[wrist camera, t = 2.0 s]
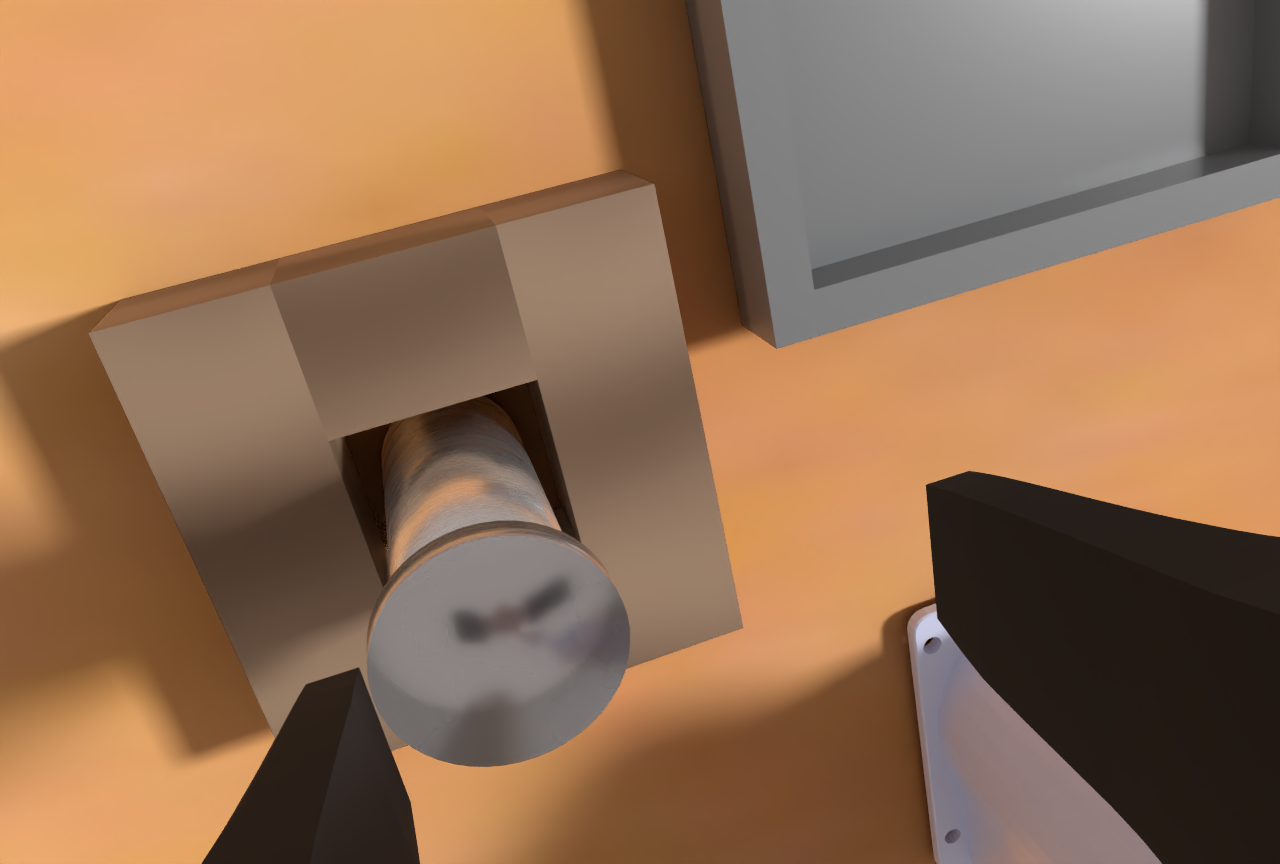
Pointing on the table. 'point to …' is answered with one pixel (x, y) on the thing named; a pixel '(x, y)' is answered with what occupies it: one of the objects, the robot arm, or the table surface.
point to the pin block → (418, 383)
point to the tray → (970, 140)
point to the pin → (485, 598)
